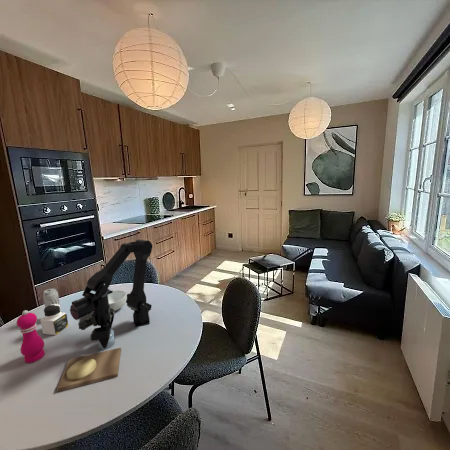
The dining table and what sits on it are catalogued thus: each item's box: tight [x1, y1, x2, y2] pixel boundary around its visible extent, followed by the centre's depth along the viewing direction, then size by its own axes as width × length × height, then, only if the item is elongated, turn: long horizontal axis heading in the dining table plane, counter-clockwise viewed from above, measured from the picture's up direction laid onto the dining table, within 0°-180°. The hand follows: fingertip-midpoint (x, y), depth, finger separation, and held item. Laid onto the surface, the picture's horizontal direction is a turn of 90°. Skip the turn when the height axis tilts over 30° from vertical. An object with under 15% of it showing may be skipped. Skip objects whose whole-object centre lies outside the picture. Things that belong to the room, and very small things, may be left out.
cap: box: [97, 328, 116, 351], centre depth 102 cm, size 6×6×5 cm
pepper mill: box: [16, 310, 46, 364], centre depth 94 cm, size 7×7×20 cm
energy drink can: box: [42, 288, 62, 310], centre depth 122 cm, size 6×6×15 cm
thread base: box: [56, 347, 122, 392], centre depth 89 cm, size 18×14×2 cm
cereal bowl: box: [108, 289, 128, 312], centre depth 130 cm, size 17×17×7 cm
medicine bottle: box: [40, 304, 69, 336], centre depth 113 cm, size 7×7×12 cm
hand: (106, 341), depth 102 cm, fingers open, 8 cm apart
